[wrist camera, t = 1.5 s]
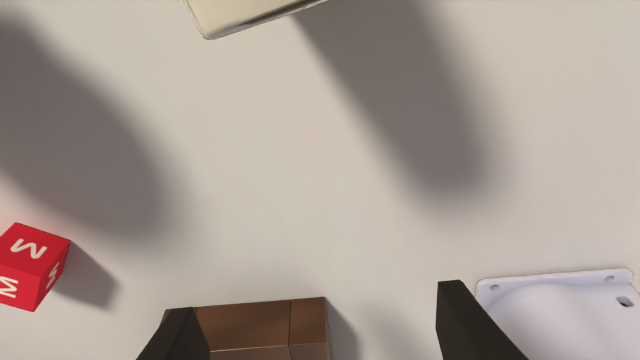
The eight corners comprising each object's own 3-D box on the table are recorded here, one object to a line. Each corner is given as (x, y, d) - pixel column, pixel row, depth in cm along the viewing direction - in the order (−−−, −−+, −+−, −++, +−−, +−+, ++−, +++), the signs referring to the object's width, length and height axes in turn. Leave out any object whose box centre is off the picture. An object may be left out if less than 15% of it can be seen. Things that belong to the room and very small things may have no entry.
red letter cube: (15, 222, 23) (-22, 258, 21) (70, 240, 24) (41, 277, 21) (9, 257, 24) (-26, 295, 22) (61, 274, 25) (33, 312, 23)
